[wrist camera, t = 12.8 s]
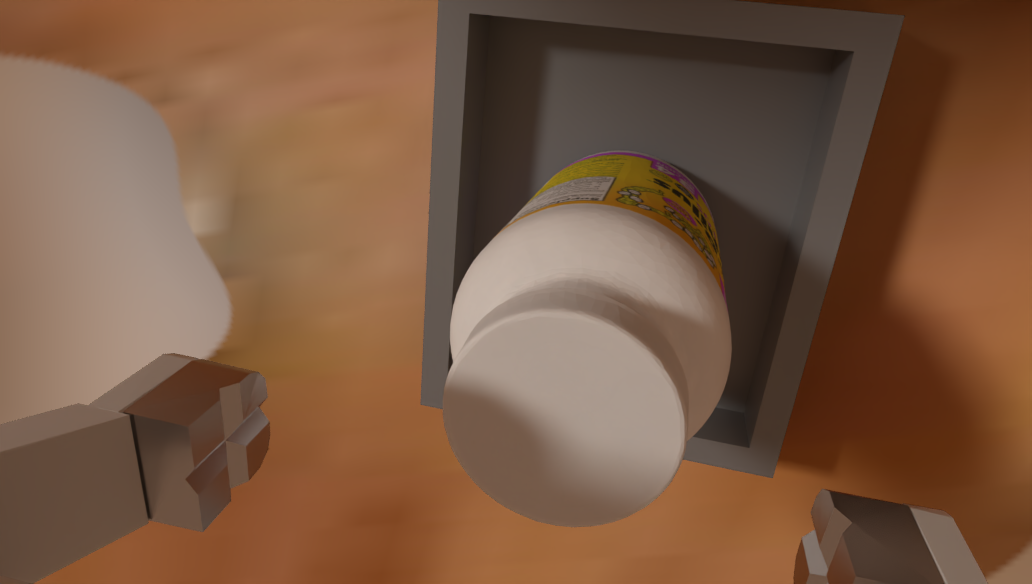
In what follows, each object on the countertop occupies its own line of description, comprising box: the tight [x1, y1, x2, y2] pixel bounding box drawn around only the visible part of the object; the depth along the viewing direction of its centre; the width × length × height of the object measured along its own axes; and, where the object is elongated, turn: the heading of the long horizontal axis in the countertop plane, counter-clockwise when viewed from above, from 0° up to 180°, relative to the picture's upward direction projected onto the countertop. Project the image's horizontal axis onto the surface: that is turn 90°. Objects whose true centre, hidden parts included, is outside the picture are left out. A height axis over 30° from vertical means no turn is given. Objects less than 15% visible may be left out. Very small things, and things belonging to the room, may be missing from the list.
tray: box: [421, 0, 905, 478], centre depth 23 cm, size 15×13×3 cm
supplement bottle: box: [443, 150, 732, 527], centre depth 18 cm, size 7×7×13 cm
